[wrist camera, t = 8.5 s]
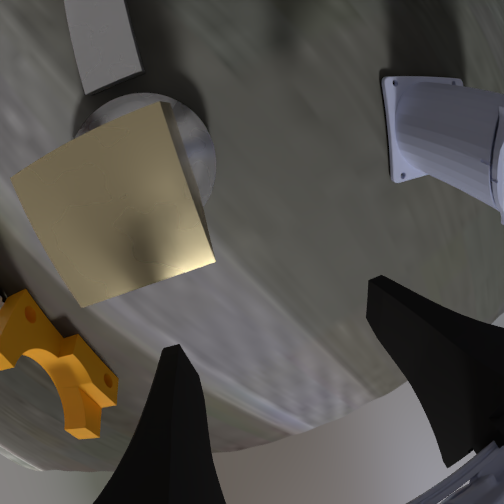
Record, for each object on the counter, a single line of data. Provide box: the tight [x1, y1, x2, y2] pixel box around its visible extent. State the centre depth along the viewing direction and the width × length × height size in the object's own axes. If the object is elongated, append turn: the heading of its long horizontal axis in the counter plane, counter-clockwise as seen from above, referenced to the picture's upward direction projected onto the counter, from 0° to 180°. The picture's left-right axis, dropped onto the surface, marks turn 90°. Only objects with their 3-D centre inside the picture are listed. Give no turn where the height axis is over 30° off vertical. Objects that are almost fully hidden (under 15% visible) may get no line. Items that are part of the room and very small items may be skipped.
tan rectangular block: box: [10, 101, 216, 308], centre depth 10 cm, size 5×5×7 cm
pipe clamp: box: [0, 289, 118, 439], centre depth 17 cm, size 12×4×6 cm, turn 15°
